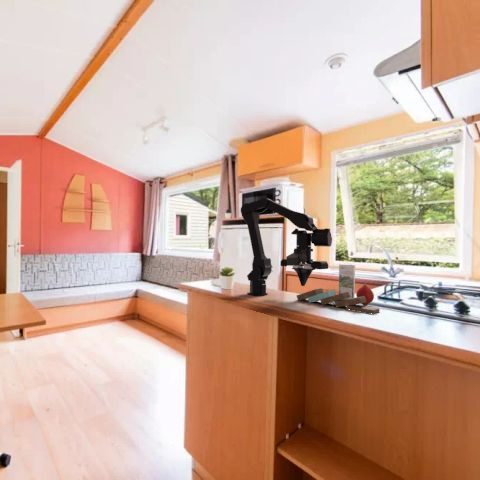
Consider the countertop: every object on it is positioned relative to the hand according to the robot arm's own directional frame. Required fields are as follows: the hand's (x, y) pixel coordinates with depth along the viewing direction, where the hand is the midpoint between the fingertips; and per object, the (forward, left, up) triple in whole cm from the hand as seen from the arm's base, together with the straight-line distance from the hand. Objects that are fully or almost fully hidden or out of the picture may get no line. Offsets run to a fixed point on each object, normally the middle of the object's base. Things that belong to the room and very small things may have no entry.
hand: (302, 286), depth 117 cm
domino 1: (-1, 0, -5) cm, 5 cm away
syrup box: (+11, +15, -6) cm, 19 cm away
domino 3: (+10, 0, -5) cm, 11 cm away
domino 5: (+19, 0, -5) cm, 20 cm away
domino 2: (+4, 0, -5) cm, 6 cm away
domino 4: (+15, 0, -4) cm, 16 cm away
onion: (+21, +9, -6) cm, 23 cm away
